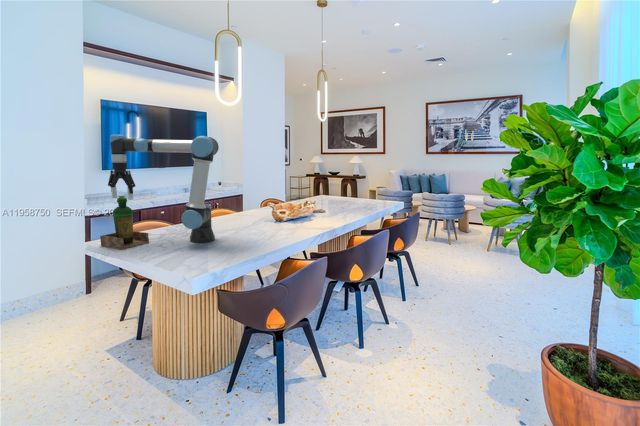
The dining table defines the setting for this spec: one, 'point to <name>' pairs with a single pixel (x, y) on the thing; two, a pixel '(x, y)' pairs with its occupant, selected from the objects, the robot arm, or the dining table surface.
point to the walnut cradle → (118, 243)
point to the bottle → (123, 221)
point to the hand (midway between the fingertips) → (122, 198)
